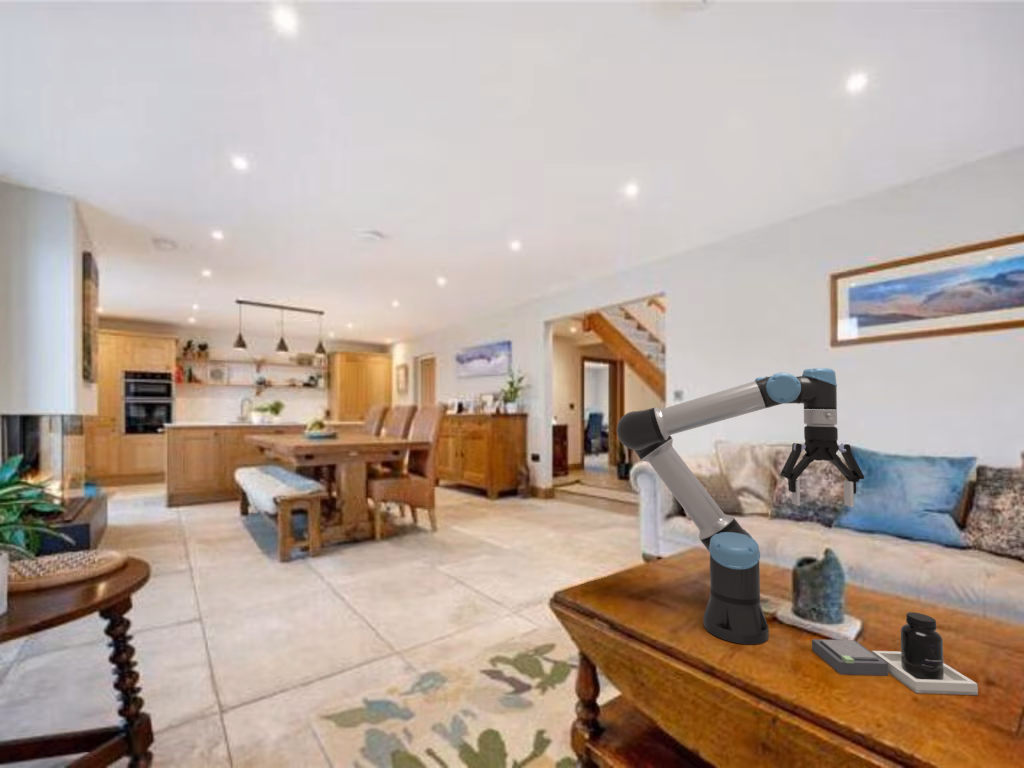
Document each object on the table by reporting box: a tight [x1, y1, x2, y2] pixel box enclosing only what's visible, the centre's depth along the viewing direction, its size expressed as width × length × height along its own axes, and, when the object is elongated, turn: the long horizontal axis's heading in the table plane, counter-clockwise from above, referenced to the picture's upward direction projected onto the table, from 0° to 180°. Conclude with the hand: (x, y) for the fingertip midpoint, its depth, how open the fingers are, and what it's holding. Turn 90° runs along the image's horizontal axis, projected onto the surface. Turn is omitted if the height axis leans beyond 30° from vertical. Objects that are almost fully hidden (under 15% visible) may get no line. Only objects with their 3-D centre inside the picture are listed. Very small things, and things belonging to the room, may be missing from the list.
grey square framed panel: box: [811, 638, 889, 677], centre depth 104 cm, size 10×10×3 cm
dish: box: [871, 650, 979, 696], centre depth 99 cm, size 12×12×2 cm
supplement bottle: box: [900, 611, 944, 680], centre depth 99 cm, size 7×7×12 cm
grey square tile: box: [821, 639, 877, 661], centre depth 105 cm, size 7×7×1 cm
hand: (822, 505), depth 124 cm, fingers open, 13 cm apart
